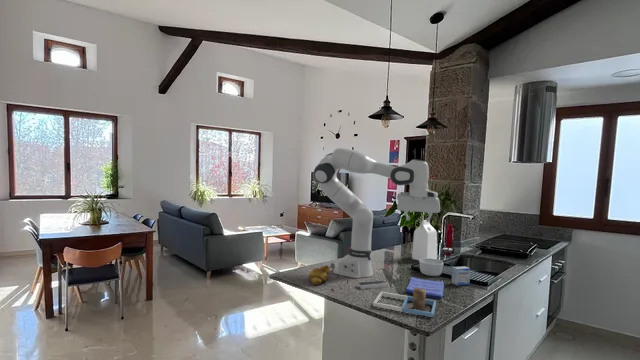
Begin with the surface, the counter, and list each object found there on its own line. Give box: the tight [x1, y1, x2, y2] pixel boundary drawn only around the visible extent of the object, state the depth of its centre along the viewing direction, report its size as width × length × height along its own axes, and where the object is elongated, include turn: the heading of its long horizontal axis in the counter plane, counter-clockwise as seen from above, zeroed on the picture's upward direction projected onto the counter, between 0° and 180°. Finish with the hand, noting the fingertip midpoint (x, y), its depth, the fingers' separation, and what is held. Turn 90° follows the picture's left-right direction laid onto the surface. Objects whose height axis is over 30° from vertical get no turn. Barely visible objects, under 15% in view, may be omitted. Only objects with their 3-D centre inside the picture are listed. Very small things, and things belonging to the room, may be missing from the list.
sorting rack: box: [372, 291, 437, 318], centre depth 146 cm, size 24×15×2 cm, turn 66°
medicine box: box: [451, 265, 471, 286], centre depth 177 cm, size 8×4×9 cm, turn 105°
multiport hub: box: [357, 280, 388, 290], centre depth 170 cm, size 4×14×2 cm, turn 107°
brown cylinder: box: [412, 288, 427, 311], centre depth 144 cm, size 5×5×8 cm
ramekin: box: [418, 258, 444, 277], centre depth 194 cm, size 13×13×7 cm
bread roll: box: [308, 265, 331, 286], centre depth 175 cm, size 13×10×8 cm
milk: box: [411, 219, 438, 261], centre depth 224 cm, size 12×12×26 cm
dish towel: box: [404, 276, 445, 300], centre depth 169 cm, size 17×24×3 cm
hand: (417, 221), depth 165 cm, fingers open, 8 cm apart
